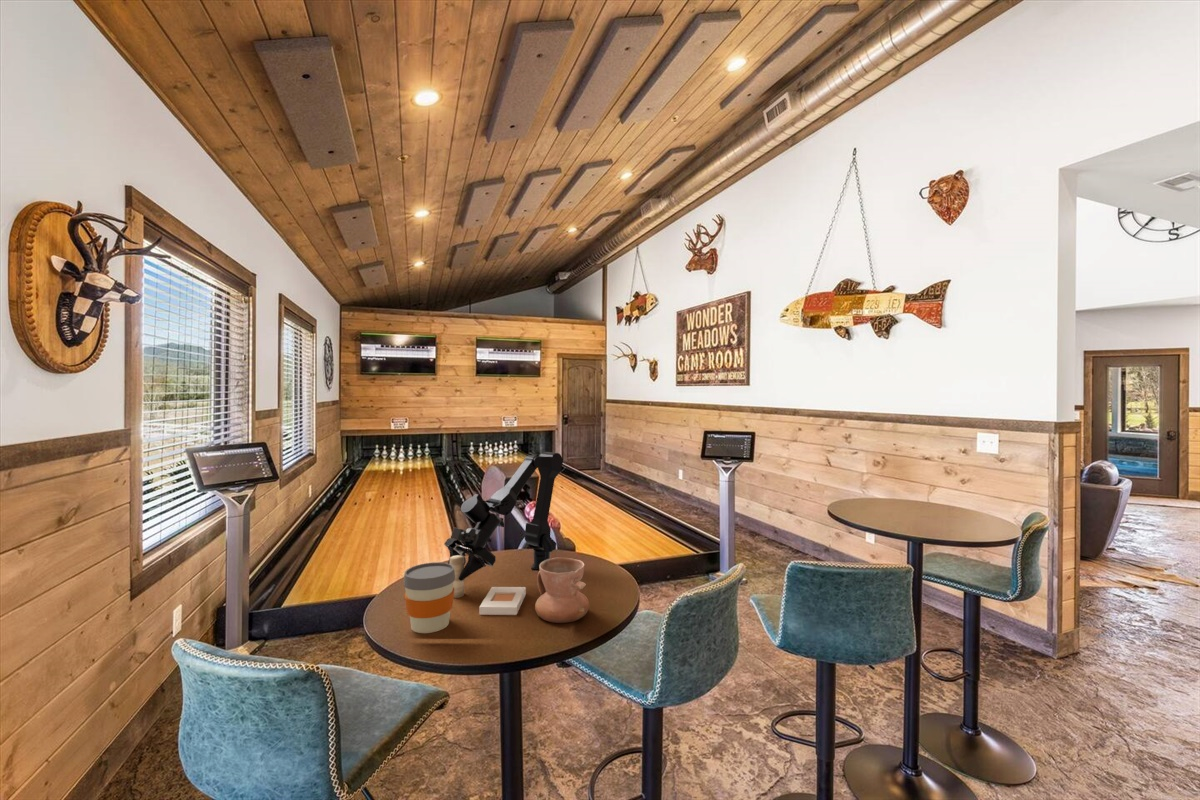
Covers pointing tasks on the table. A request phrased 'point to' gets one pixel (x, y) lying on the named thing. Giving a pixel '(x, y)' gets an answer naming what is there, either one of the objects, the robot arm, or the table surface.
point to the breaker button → (503, 598)
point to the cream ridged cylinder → (458, 568)
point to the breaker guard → (502, 606)
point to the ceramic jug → (561, 590)
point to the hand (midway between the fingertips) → (452, 577)
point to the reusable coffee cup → (429, 595)
